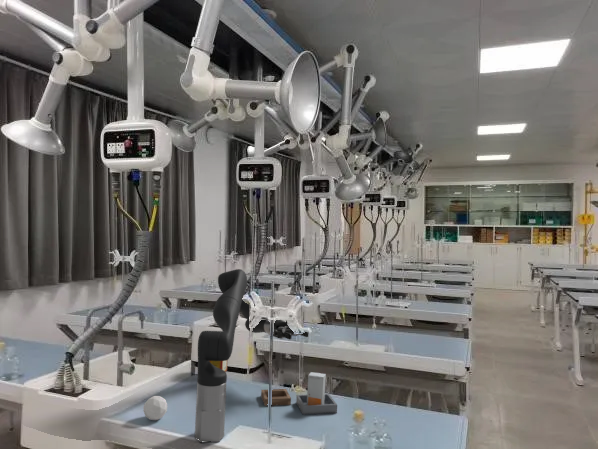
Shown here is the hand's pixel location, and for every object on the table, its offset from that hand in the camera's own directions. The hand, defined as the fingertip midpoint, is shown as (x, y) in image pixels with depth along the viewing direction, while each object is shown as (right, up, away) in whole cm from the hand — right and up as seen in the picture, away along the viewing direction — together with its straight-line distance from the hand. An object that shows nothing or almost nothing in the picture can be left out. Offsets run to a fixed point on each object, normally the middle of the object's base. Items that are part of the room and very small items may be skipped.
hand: (299, 335), depth 179 cm
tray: (+6, -25, -10) cm, 27 cm away
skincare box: (+6, -24, -10) cm, 27 cm away
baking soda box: (-37, -24, +25) cm, 51 cm away
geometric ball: (-50, -22, -25) cm, 60 cm away
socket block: (-9, -24, -4) cm, 26 cm away
